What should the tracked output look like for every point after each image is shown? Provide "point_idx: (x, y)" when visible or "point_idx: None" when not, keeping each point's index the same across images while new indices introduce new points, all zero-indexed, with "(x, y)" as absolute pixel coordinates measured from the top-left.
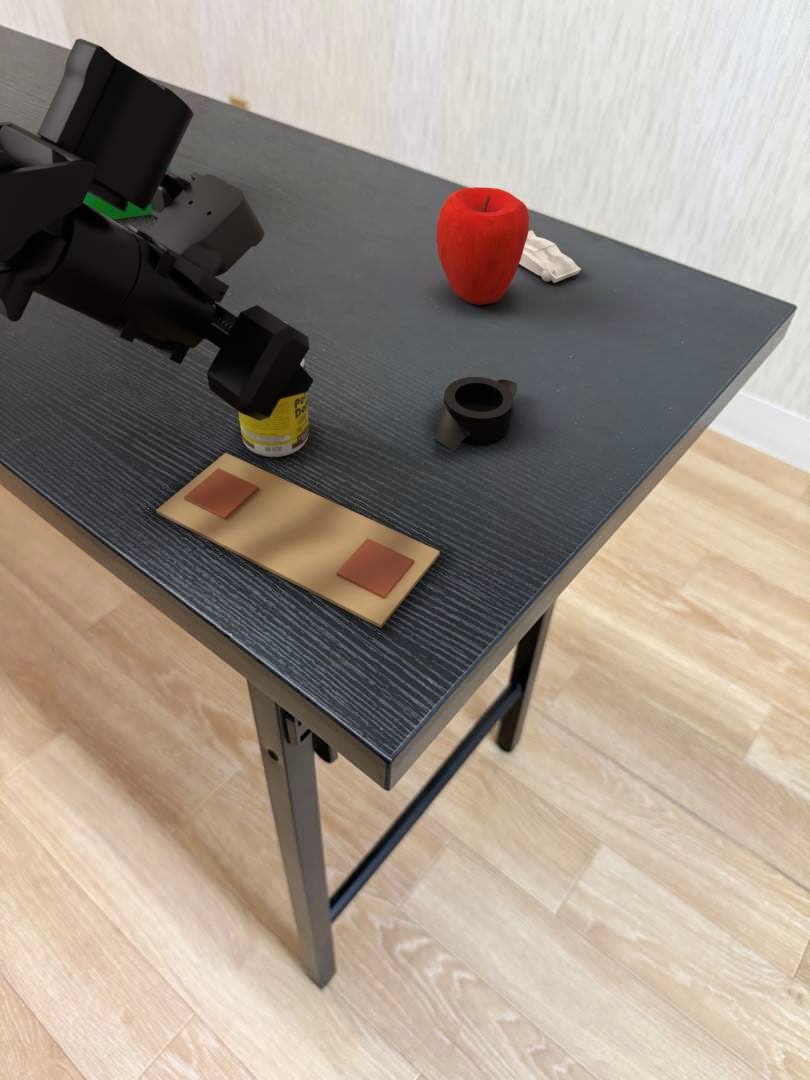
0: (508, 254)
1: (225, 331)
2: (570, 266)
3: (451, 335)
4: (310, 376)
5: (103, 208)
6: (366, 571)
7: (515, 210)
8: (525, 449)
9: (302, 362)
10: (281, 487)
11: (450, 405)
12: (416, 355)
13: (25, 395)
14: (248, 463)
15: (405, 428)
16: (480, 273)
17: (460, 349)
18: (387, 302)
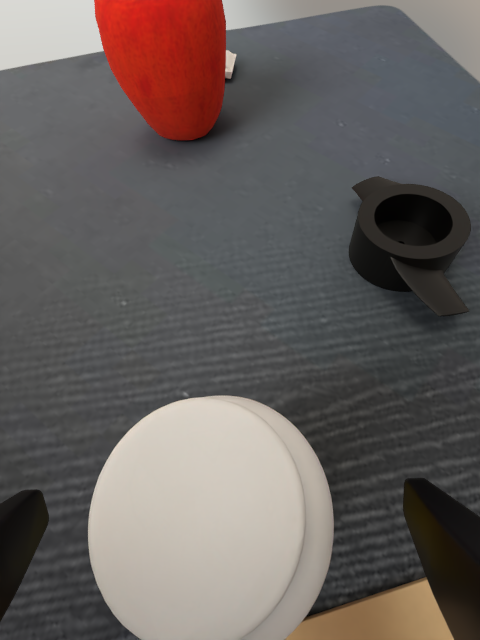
0: (223, 41)
1: (16, 545)
2: (228, 55)
3: (223, 181)
4: (448, 495)
5: None
6: None
7: None
8: (475, 239)
9: (301, 434)
10: (394, 624)
11: (410, 255)
12: (225, 226)
13: None
14: None
15: (350, 324)
16: (206, 87)
17: (252, 187)
18: (116, 195)
